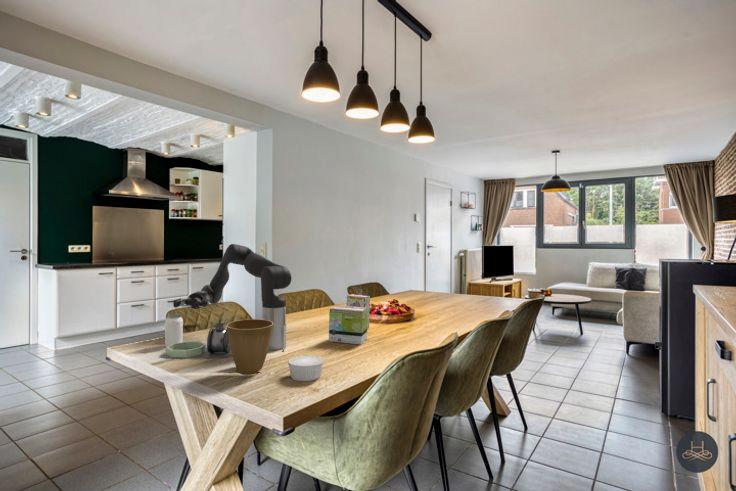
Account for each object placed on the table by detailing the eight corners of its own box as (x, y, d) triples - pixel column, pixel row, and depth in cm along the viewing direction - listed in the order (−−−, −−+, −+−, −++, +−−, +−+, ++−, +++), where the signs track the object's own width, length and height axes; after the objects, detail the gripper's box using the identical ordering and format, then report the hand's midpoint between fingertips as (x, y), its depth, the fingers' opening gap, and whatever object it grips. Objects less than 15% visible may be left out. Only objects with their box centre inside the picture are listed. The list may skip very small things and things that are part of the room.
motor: (232, 349, 154) (233, 321, 154) (225, 355, 145) (226, 326, 145) (214, 349, 154) (215, 321, 154) (206, 355, 145) (207, 326, 145)
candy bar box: (345, 327, 202) (346, 295, 201) (351, 325, 206) (351, 294, 206) (364, 330, 196) (364, 297, 195) (369, 328, 200) (370, 296, 200)
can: (175, 348, 158) (175, 318, 157) (161, 347, 159) (161, 317, 159) (186, 344, 164) (186, 315, 164) (172, 343, 165) (172, 314, 165)
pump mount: (237, 349, 157) (237, 341, 157) (226, 360, 143) (226, 350, 143) (175, 349, 156) (175, 341, 156) (158, 360, 142) (158, 350, 142)
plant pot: (218, 370, 132) (218, 322, 132) (258, 361, 142) (259, 317, 142) (239, 382, 121) (239, 330, 121) (281, 372, 132) (281, 324, 131)
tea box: (328, 342, 171) (328, 308, 171) (335, 337, 181) (336, 304, 181) (361, 345, 168) (362, 310, 168) (367, 339, 178) (368, 306, 177)
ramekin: (285, 373, 131) (285, 357, 131) (318, 369, 135) (318, 354, 135) (291, 384, 120) (291, 367, 120) (327, 380, 124) (327, 364, 124)
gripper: (183, 291, 188) (168, 296, 172) (214, 291, 189) (202, 297, 173) (183, 307, 188) (168, 313, 172) (214, 307, 189) (201, 314, 173)
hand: (185, 305), depth 173 cm, fingers open, 8 cm apart
